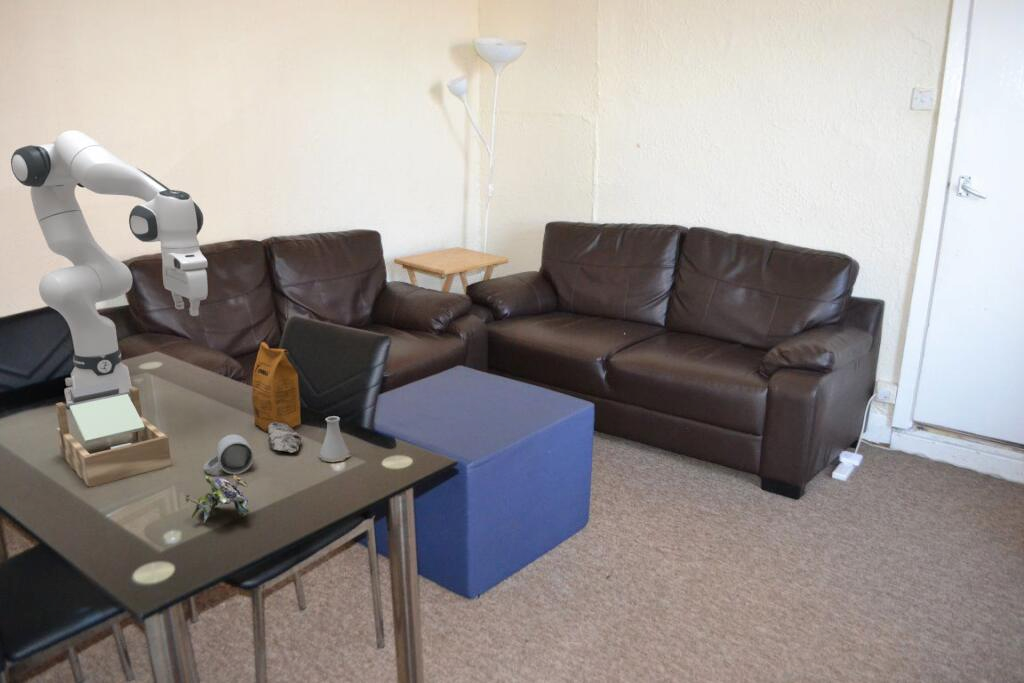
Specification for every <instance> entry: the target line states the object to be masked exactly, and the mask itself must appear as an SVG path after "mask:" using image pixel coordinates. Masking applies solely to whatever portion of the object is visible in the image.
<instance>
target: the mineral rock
mask: <svg viewBox="0 0 1024 683" xmlns="http://www.w3.org/2000/svg"><path fill="white" fill-rule="evenodd" d="M268 427H269V430H268V432H267V433H268V435H267V436H268V439H267V442H268V447H269V449H270V450H271V451H278V452H279V451H280V452H281V451H282V452H287V453H292V454H293V453H294V452H295V453H296V452H297V451H299V447H300V445H301V443H302V436H301V435H300V434H299V432H296V431H295V429H293V427H292V428H290V427H289V426H288V425H287V424H283V423H279V422H271V423H270V424H269V426H268Z"/></svg>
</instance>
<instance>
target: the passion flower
mask: <svg viewBox="0 0 1024 683" xmlns="http://www.w3.org/2000/svg"><path fill="white" fill-rule="evenodd" d="M232 476H233V479H234V482H235V484H234V483H232V482H230V480H229V481H228V479H227V478H226V479H225V478H223V477H222V478H221V476H216V477H215V478H212V477H209V476H208V475H206V476H205V481H206V482H207V483H208V484H209V485H210V486H211V488H210V492H206V493H205V494H204V497H203V496H200V497H199V498H198V502H196V501H195V500H193V499H191V498H189V497H190V495H191V494H185V495H184V496H185V502H186V503H188V502H189V501H190V502H191V503H194V504H196V505H195V506H196V507H195V509H194V511H193V512H192V514H191V519H193V518H194V516H196V514H197V513H198V512H199V511H200V510H201V509H203V515H204V516H203V522H202V526H203V525H205V523H206V521H207V520H208V518H210V517H211V516H212V515H213V510H214V509H215V508H216V507H217V506H218V504H220V506H223V505H230V504H231V502H232V503H233V504H234V508H235V511H236V512H237V513H238V515H240V516H241V517H246V514H247V513H248V512H249V509H248V508H246V506H247V505H248V504H249V499H247V498H246V497H245V496H244V494H243V491H242V490H241V489H240V488H237V487H238V486H239V485H240V486H242V487H245V488H247V487H248V484H247V482H246V481H245V480H243V478H241V477H240V476H239V474H232ZM205 506H208V508H207V507H205Z"/></svg>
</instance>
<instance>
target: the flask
mask: <svg viewBox="0 0 1024 683" xmlns="http://www.w3.org/2000/svg"><path fill="white" fill-rule="evenodd" d="M340 420H341V418H340V417H339V416H335V415H333V416H328V417H326V418H325V422H326V432H325V433H326V434H325V436H324V440H323V442H322V443H323V444H322V446H321V449H320V452H319V455H320V456H321V458H322V459H326V460H334V459H337V458H342V457H344V456H345V455H347V454H348V453H350V450H349V449H348V446H347V445H346V443H345V440H344V438H343V434H342V433H341V429H340ZM319 455H318V456H319Z"/></svg>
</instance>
